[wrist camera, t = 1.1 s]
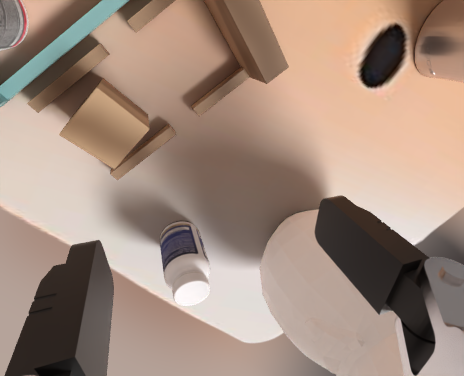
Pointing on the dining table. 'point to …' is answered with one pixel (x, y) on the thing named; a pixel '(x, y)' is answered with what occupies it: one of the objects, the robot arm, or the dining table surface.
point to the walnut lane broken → (252, 65)
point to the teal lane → (58, 48)
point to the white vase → (324, 305)
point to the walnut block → (107, 125)
